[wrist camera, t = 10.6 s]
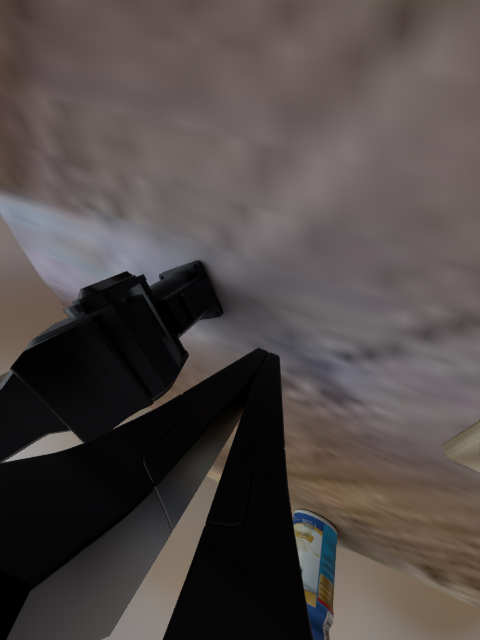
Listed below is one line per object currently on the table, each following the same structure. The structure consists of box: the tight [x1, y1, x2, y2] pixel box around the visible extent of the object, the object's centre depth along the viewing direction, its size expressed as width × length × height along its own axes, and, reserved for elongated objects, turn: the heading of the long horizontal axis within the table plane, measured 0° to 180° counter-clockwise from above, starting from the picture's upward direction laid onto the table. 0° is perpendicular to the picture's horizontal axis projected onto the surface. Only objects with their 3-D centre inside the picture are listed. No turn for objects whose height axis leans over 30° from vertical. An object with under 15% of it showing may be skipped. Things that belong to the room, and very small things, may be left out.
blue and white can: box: [293, 509, 337, 640], centre depth 35 cm, size 8×8×20 cm
